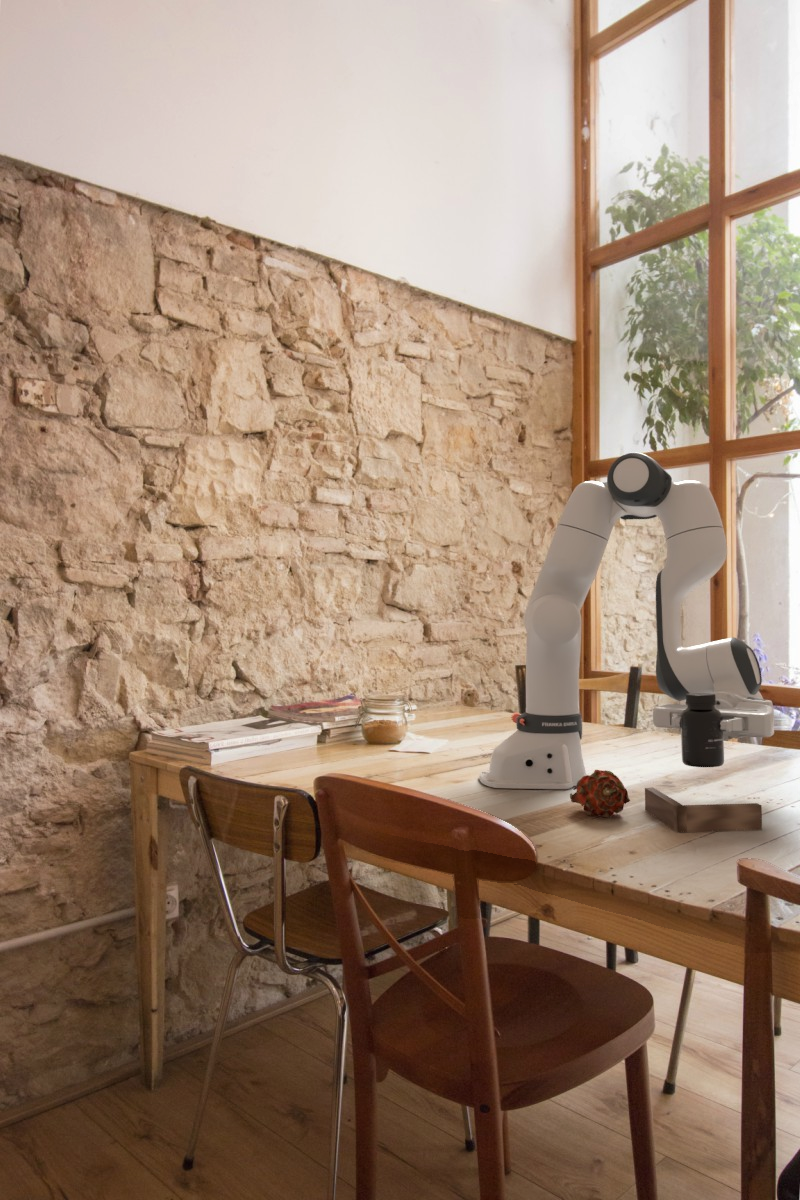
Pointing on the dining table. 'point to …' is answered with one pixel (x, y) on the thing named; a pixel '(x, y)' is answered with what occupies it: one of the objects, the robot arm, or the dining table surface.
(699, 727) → the supplement bottle
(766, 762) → the dining table surface
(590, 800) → the dragon fruit
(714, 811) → the corner arena
